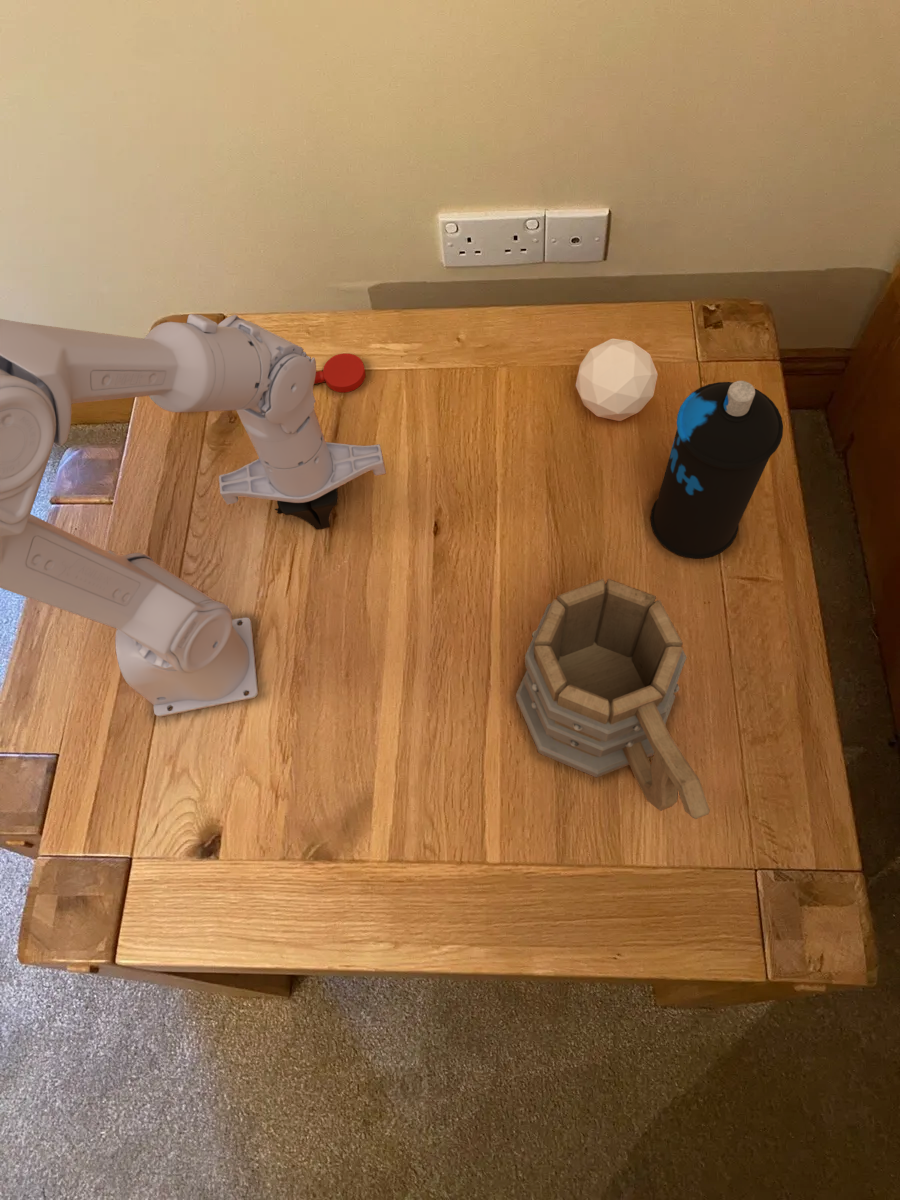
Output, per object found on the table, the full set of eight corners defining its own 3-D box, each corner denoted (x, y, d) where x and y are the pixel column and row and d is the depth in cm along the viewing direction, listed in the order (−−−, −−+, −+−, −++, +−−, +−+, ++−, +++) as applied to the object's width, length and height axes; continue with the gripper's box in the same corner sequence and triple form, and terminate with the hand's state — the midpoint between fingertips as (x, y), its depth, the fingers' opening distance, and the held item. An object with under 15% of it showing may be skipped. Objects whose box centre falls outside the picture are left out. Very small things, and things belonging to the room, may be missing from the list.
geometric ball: (628, 427, 92) (663, 425, 85) (557, 412, 90) (586, 408, 83) (642, 354, 92) (679, 344, 84) (571, 337, 89) (602, 326, 82)
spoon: (188, 423, 93) (184, 416, 92) (186, 390, 95) (182, 383, 94) (368, 388, 93) (366, 381, 92) (362, 355, 95) (360, 348, 94)
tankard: (500, 663, 80) (496, 595, 66) (628, 614, 81) (650, 537, 67) (592, 878, 72) (609, 851, 58) (733, 821, 73) (783, 781, 59)
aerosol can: (736, 486, 86) (795, 348, 67) (739, 562, 82) (802, 439, 64) (650, 482, 86) (685, 345, 68) (649, 557, 83) (686, 434, 65)
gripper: (367, 385, 76) (388, 471, 88) (200, 417, 75) (245, 499, 88) (379, 453, 73) (399, 532, 85) (205, 487, 72) (251, 561, 85)
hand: (321, 519), depth 86 cm, fingers closed, pressing on tape measure
